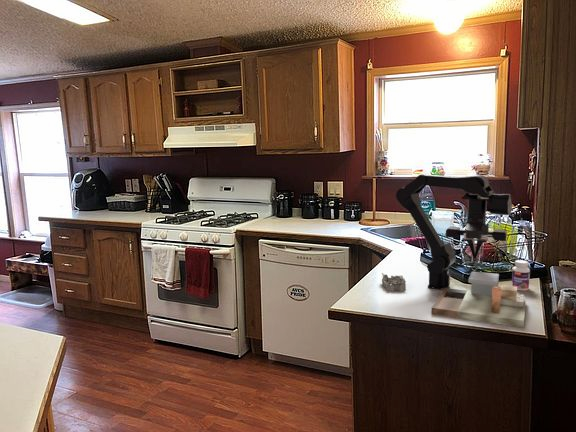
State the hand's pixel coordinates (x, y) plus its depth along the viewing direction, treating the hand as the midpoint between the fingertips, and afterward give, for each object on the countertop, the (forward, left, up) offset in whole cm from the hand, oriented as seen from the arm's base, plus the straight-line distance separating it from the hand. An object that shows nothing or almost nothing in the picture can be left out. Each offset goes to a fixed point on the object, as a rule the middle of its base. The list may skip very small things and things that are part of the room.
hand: (474, 258), depth 157 cm
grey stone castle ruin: (-27, -4, -12) cm, 30 cm away
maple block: (+11, -11, -10) cm, 19 cm away
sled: (+11, -16, -10) cm, 22 cm away
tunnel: (+4, -11, -10) cm, 15 cm away
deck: (+3, -15, -12) cm, 20 cm away
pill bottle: (+14, +11, -12) cm, 22 cm away
